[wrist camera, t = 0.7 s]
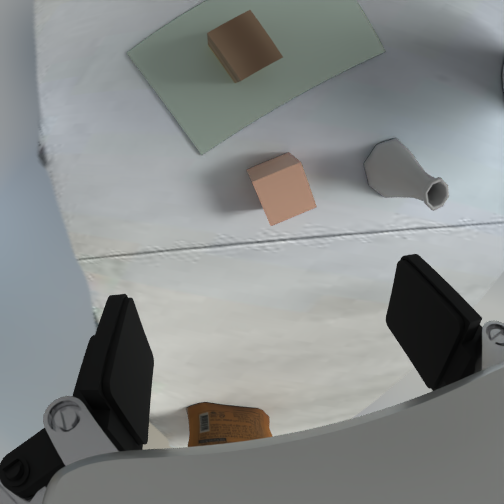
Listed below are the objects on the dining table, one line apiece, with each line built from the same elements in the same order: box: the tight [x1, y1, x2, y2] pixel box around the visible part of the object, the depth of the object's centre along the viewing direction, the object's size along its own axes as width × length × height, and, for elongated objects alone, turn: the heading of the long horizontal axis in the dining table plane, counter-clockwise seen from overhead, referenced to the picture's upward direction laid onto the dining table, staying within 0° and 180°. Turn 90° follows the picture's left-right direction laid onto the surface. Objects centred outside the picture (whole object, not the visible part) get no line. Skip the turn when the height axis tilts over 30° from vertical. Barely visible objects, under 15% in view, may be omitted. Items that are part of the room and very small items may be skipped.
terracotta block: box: [247, 152, 316, 226], centre depth 33 cm, size 5×5×5 cm
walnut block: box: [207, 10, 283, 83], centre depth 24 cm, size 4×5×7 cm
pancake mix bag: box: [186, 402, 273, 447], centre depth 42 cm, size 7×19×28 cm, turn 70°
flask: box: [364, 138, 449, 211], centre depth 31 cm, size 7×7×10 cm
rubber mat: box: [127, 0, 386, 155], centre depth 27 cm, size 24×14×1 cm, turn 122°
